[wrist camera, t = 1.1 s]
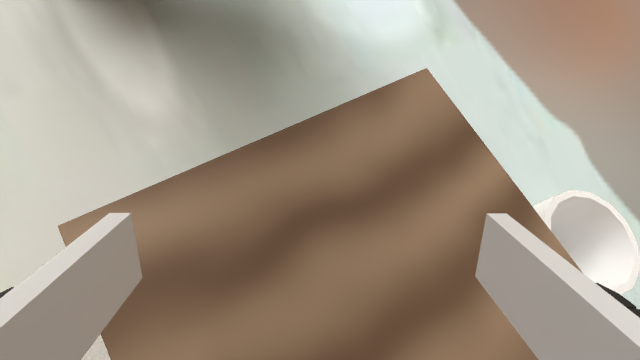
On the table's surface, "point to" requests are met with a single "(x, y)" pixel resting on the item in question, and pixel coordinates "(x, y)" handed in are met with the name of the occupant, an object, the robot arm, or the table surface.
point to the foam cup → (593, 237)
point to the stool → (325, 242)
